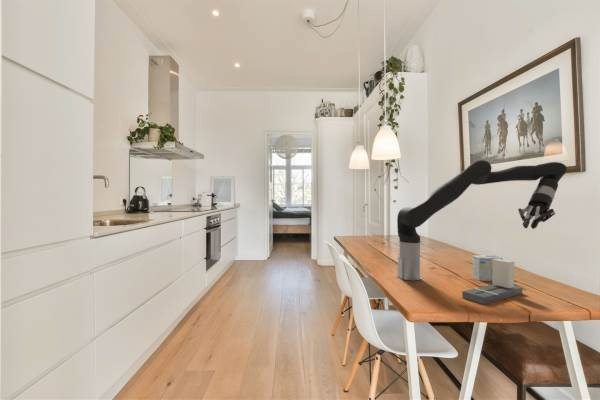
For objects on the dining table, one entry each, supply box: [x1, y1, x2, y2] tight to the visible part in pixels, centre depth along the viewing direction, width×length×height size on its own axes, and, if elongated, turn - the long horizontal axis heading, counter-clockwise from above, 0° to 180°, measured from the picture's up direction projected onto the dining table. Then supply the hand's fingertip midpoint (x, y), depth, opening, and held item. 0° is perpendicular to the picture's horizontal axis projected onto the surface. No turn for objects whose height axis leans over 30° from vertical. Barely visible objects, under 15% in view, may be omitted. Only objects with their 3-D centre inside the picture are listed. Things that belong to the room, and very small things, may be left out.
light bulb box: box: [472, 254, 504, 282], centre depth 138 cm, size 11×7×11 cm, turn 84°
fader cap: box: [491, 258, 515, 288], centre depth 118 cm, size 4×6×10 cm, turn 28°
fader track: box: [461, 283, 523, 305], centre depth 115 cm, size 26×9×3 cm, turn 118°
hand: (528, 227), depth 126 cm, fingers closed
